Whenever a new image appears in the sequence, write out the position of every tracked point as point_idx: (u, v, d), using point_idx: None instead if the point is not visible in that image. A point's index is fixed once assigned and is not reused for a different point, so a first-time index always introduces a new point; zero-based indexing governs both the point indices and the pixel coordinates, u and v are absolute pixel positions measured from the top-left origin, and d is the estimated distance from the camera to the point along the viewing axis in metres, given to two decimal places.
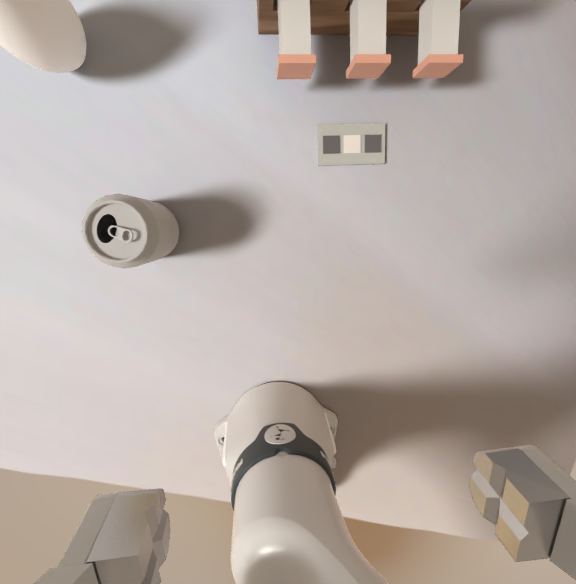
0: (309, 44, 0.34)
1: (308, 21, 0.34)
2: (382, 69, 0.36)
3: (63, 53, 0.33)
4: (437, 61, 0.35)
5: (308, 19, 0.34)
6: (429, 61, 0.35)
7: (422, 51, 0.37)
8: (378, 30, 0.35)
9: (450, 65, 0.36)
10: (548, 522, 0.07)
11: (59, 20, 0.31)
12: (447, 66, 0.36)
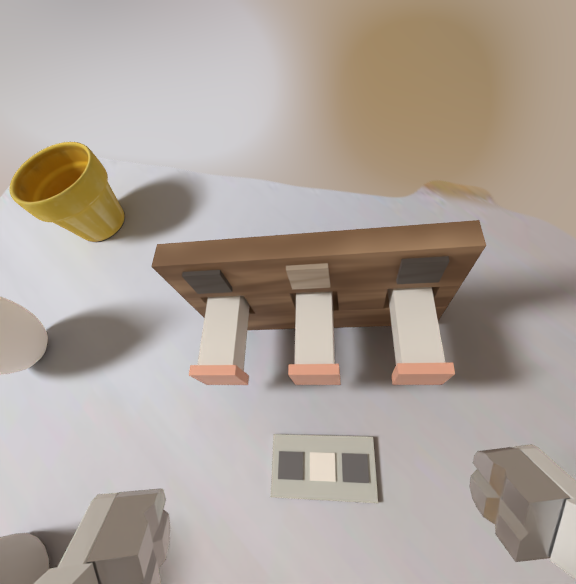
0: (232, 352, 0.27)
1: (234, 328, 0.28)
2: (335, 379, 0.26)
3: None
4: (412, 372, 0.24)
5: (234, 326, 0.28)
6: (399, 372, 0.24)
7: (396, 354, 0.27)
8: (322, 335, 0.26)
9: (437, 376, 0.24)
10: (548, 522, 0.07)
11: None
12: (433, 376, 0.24)
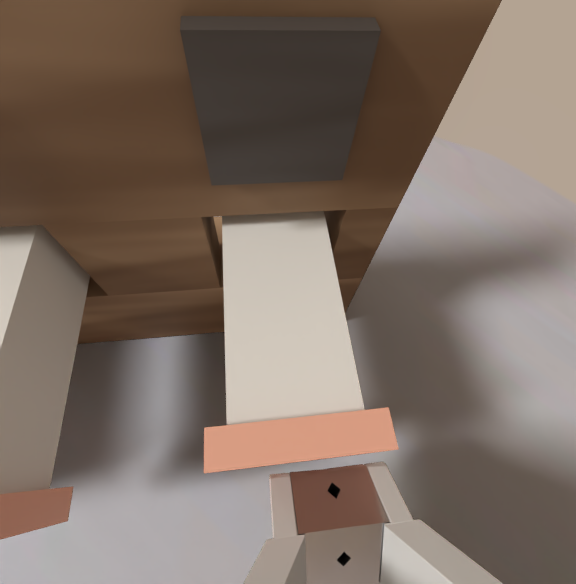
0: None
1: None
2: None
3: None
4: (255, 459, 0.06)
5: None
6: (207, 465, 0.06)
7: None
8: None
9: None
10: (370, 547, 0.07)
11: None
12: None
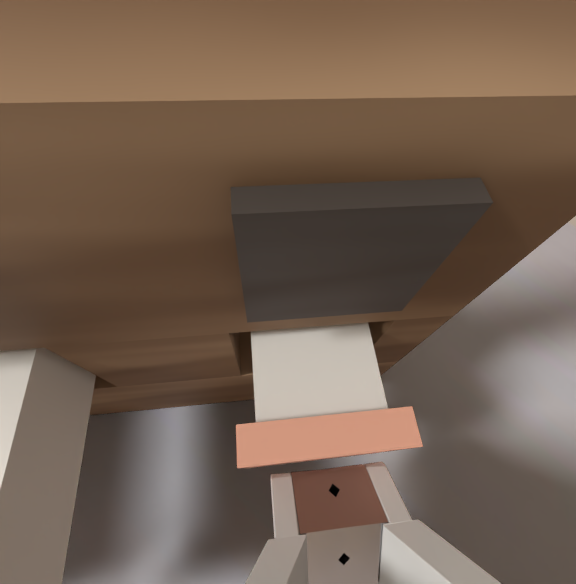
0: None
1: None
2: None
3: None
4: (285, 455, 0.07)
5: None
6: (239, 461, 0.07)
7: None
8: None
9: (366, 453, 0.07)
10: (369, 547, 0.07)
11: None
12: None
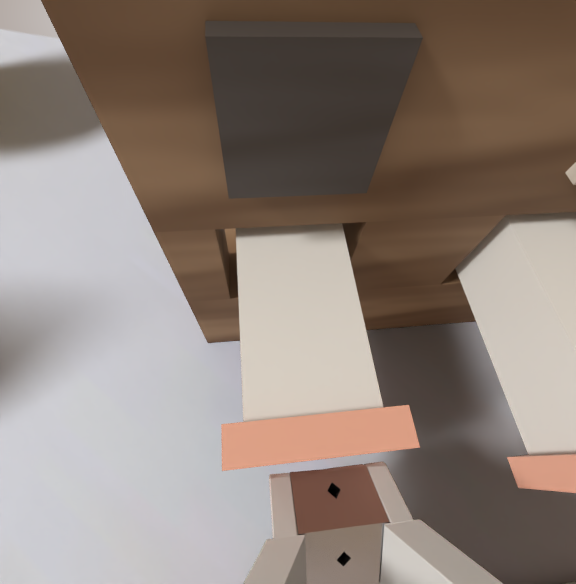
0: (366, 360, 0.08)
1: (348, 281, 0.09)
2: None
3: None
4: None
5: (347, 275, 0.09)
6: None
7: None
8: None
9: None
10: (370, 547, 0.07)
11: None
12: None
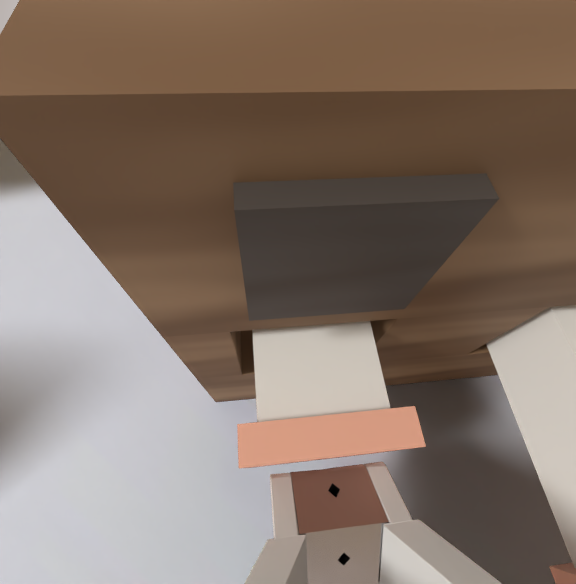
0: (374, 363, 0.08)
1: None
2: None
3: None
4: None
5: None
6: None
7: None
8: None
9: None
10: (370, 547, 0.07)
11: None
12: None
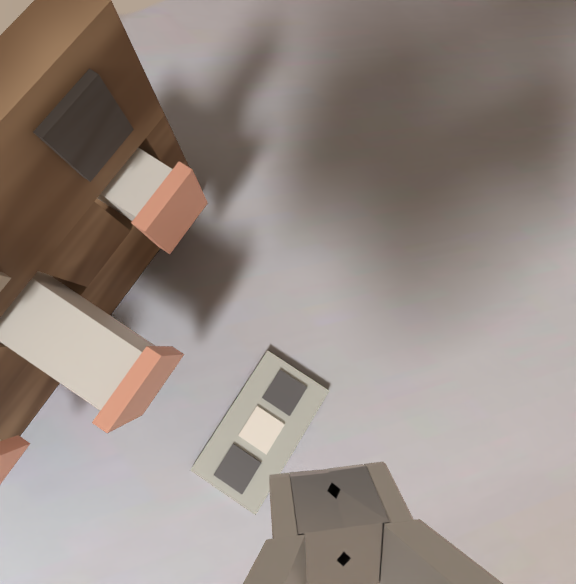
0: None
1: None
2: (167, 361, 0.16)
3: None
4: (155, 214, 0.16)
5: None
6: (143, 229, 0.16)
7: (133, 220, 0.18)
8: (90, 339, 0.15)
9: (183, 192, 0.17)
10: (370, 547, 0.07)
11: None
12: (182, 197, 0.17)
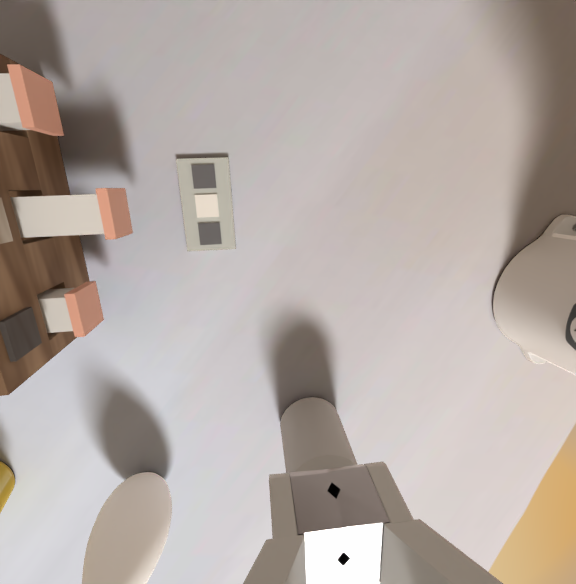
0: (54, 299, 0.27)
1: None
2: (115, 192, 0.26)
3: (157, 509, 0.36)
4: (29, 112, 0.23)
5: None
6: (33, 126, 0.23)
7: (22, 127, 0.25)
8: (67, 206, 0.25)
9: (30, 84, 0.23)
10: (370, 547, 0.07)
11: (131, 521, 0.34)
12: (33, 89, 0.23)
